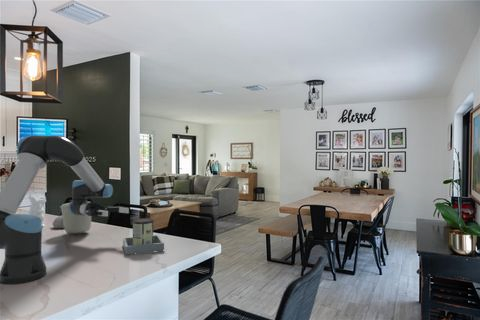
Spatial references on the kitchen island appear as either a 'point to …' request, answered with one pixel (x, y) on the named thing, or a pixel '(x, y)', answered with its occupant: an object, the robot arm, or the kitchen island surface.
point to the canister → (75, 221)
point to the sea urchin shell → (58, 222)
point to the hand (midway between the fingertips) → (118, 212)
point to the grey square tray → (142, 246)
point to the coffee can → (143, 231)
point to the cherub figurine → (37, 207)
